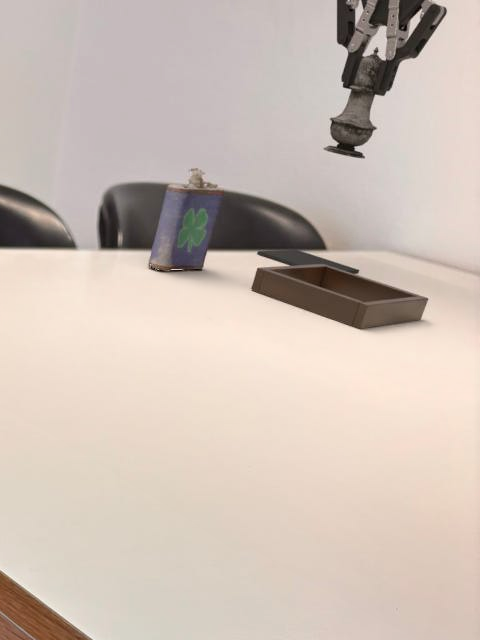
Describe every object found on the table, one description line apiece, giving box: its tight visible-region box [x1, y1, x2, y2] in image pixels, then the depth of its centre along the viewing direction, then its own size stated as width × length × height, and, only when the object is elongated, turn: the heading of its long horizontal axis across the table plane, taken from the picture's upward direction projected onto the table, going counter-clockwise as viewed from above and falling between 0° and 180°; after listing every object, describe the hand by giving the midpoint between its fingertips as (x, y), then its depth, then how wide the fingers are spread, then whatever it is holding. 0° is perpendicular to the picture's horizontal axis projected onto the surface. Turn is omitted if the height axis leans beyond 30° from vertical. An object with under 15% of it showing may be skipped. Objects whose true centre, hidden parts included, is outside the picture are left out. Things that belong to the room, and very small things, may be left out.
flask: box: [147, 167, 225, 271], centre depth 121 cm, size 9×3×11 cm, turn 133°
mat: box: [256, 249, 360, 274], centre depth 142 cm, size 10×10×1 cm
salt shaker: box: [323, 46, 383, 159], centre depth 132 cm, size 6×6×12 cm
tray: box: [250, 264, 429, 330], centre depth 121 cm, size 15×14×2 cm
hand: (363, 91), depth 132 cm, fingers closed on salt shaker, 3 cm apart
